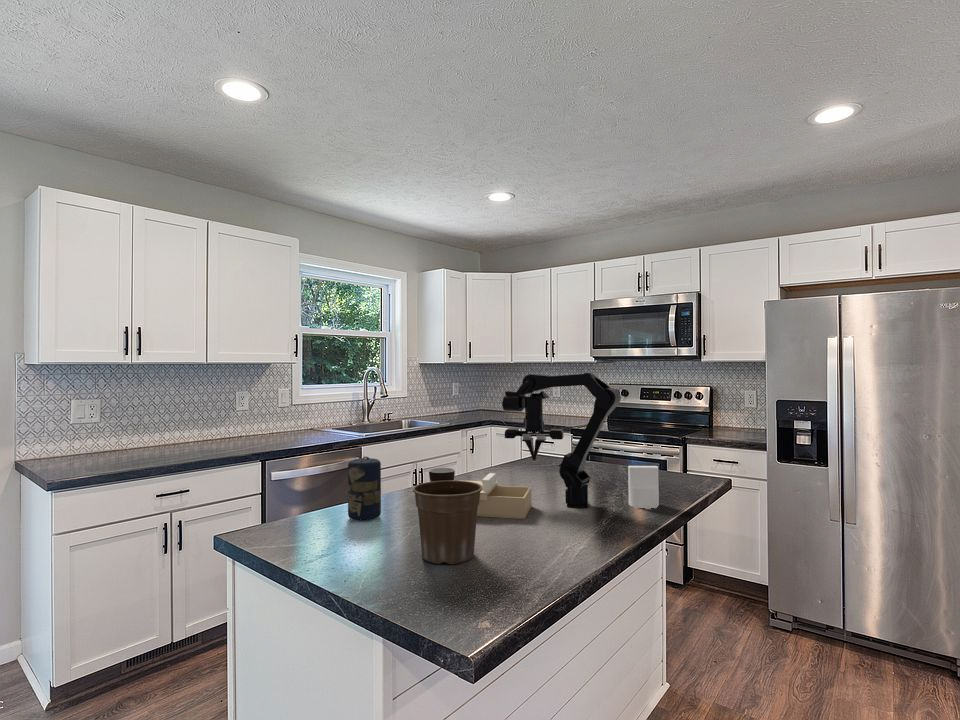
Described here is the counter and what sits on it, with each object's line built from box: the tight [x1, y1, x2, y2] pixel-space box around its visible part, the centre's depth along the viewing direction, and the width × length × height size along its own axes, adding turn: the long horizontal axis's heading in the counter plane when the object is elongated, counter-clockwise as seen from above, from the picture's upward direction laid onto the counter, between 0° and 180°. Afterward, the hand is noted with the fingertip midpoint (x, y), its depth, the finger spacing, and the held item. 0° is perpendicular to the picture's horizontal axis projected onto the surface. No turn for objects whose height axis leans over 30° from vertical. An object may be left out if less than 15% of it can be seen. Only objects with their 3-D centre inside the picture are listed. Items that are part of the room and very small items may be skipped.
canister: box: [347, 456, 382, 522], centre depth 159 cm, size 10×10×18 cm
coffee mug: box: [428, 467, 456, 482], centre depth 180 cm, size 12×9×10 cm
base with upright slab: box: [627, 465, 660, 510], centre depth 170 cm, size 9×9×12 cm
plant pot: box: [412, 479, 482, 565], centre depth 127 cm, size 16×16×16 cm
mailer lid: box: [456, 472, 499, 500], centre depth 168 cm, size 16×16×5 cm
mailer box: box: [477, 485, 533, 520], centre depth 165 cm, size 16×14×6 cm
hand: (534, 460), depth 178 cm, fingers closed
